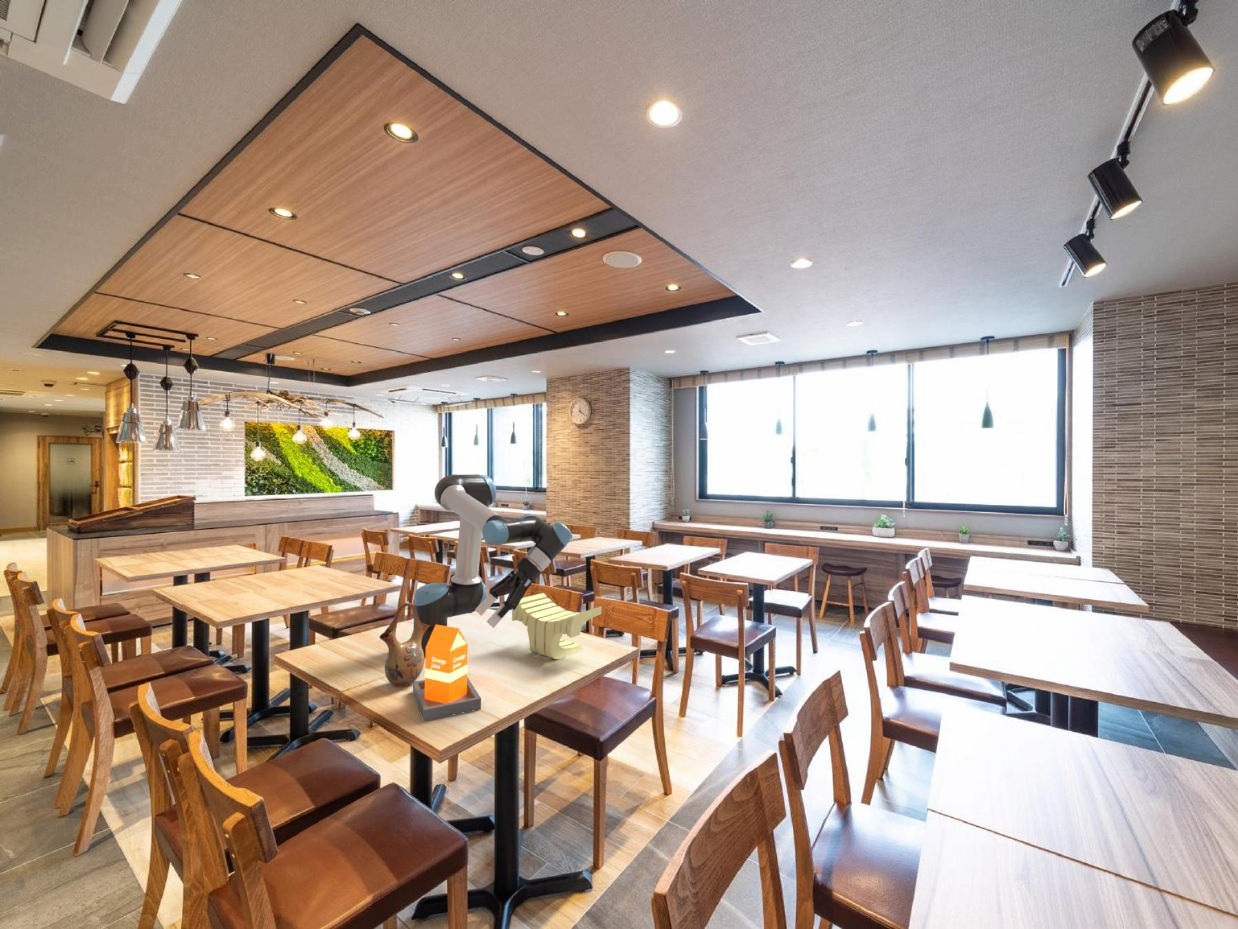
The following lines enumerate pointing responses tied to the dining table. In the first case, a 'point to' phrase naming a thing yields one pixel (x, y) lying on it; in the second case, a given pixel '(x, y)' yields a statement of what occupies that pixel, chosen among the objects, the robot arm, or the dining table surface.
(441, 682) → the orange juice
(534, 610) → the slatted curved stool
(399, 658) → the ceramic vessel
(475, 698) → the tray
